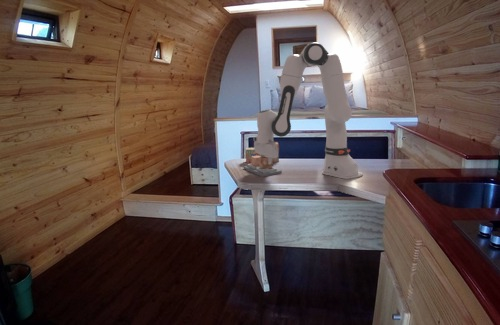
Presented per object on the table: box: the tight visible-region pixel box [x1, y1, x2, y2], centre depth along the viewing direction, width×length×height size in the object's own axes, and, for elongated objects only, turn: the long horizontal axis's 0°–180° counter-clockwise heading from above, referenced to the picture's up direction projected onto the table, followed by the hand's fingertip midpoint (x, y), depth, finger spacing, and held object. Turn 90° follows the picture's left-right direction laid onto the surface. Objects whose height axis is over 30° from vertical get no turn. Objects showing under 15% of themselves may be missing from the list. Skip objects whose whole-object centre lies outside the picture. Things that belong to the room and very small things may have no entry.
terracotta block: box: [260, 156, 273, 169], centre depth 179 cm, size 5×5×6 cm
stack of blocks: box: [245, 141, 280, 164], centre depth 206 cm, size 21×6×12 cm, turn 94°
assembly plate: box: [243, 156, 282, 178], centre depth 184 cm, size 22×13×8 cm, turn 29°
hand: (266, 163), depth 179 cm, fingers closed on terracotta block, 5 cm apart
